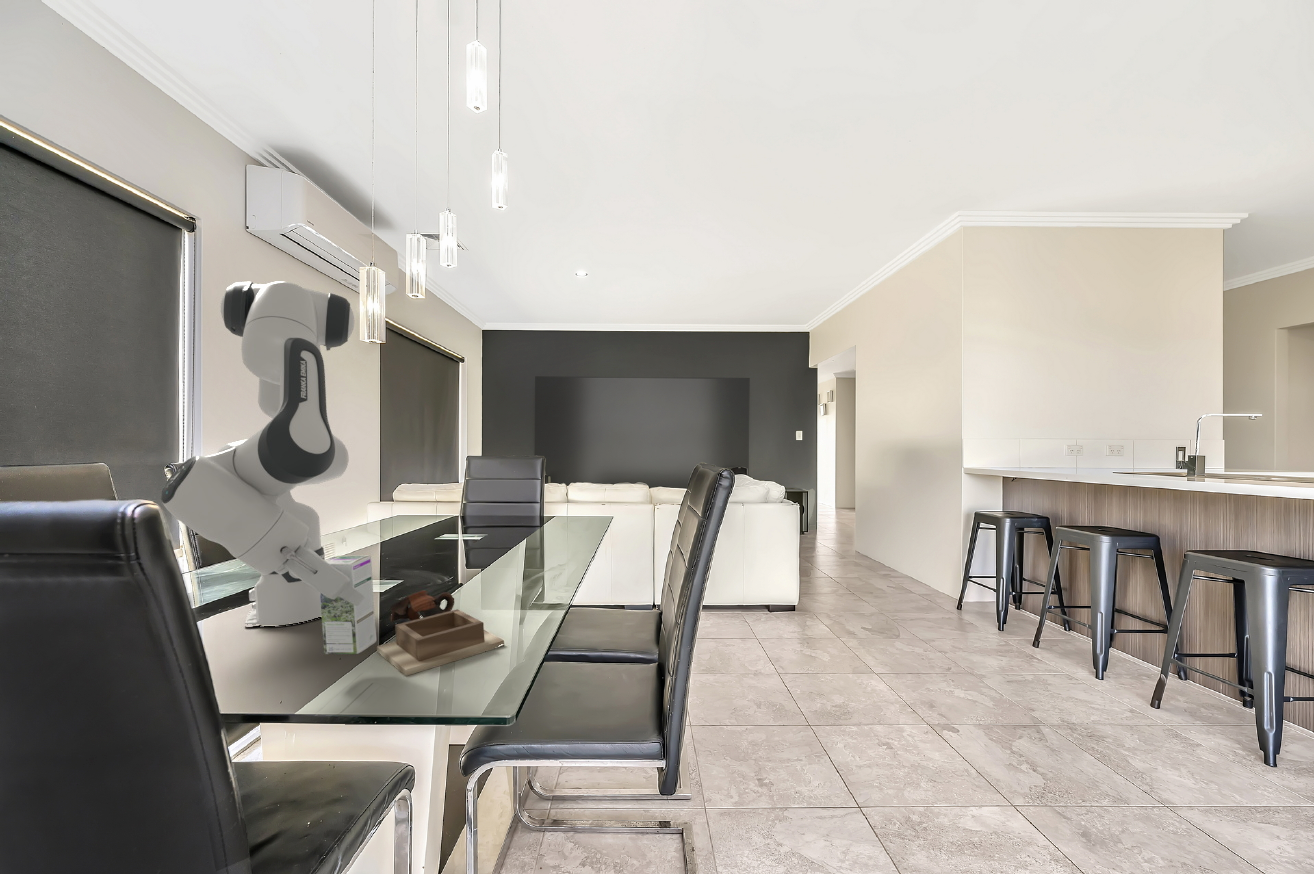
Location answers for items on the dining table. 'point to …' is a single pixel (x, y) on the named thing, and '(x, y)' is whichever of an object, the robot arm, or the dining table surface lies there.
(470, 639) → the board
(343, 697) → the dining table surface
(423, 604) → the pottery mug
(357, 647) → the syrup box
